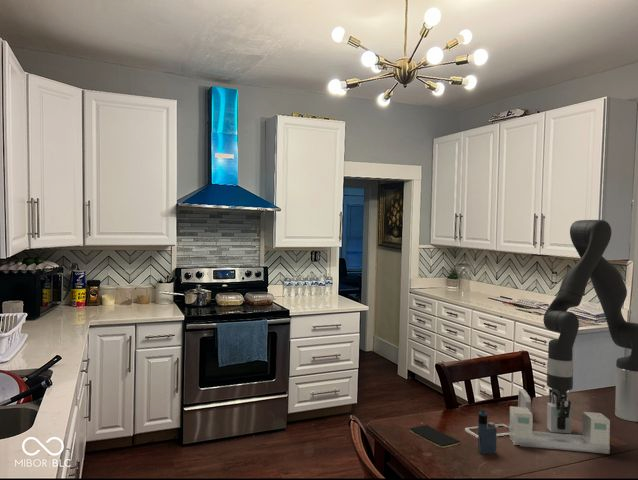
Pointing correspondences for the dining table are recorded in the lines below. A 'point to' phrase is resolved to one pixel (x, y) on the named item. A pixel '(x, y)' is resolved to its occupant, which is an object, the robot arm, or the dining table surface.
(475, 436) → the white rectangular frame
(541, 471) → the dining table surface
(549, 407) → the grey module
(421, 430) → the smartphone
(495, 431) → the vaping device
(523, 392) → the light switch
